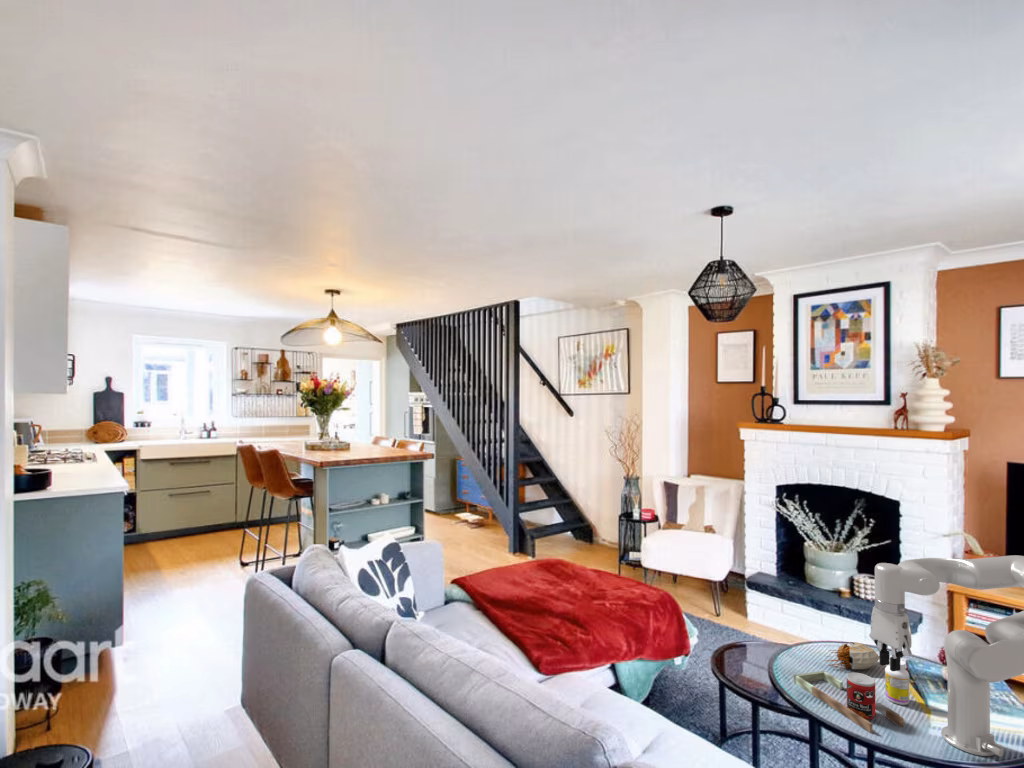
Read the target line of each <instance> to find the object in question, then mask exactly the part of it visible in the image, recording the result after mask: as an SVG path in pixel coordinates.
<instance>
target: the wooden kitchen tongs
mask: <svg viewBox="0 0 1024 768" xmlns="http://www.w3.org/2000/svg"><path fill="white" fill-rule="evenodd" d="M816 681H817V682H818V681H825V682H827V683H828V684H830V685H832V686H834V688H836V689H839V690H840V691H841V690H843V691H844V692H846V693H847V687H846V688H843V687H844V685H843V681H842V680H840V679H839V678H837V677H836V676H834V675H831V674H830V673H828V672H826V670H820V671H813V672H806V673H799V674H794V675H793V683H794V684H795V685H797V686H799V687H800V688H802V689H803V690H805V691H806V692H808V693H809V694H810V695H812V696H813V697H814V698H815V697H816V698H817V699H818V700H819V701H821V702H822V703H824V704H826V705H827V706H829V707H830V708H831V709H833V710H835V711H837V712H838V713H839V714H840V715H843V716H844V717H845V718H847V719H848V720H849V721H851V722H853V723H854V724H856V725H857V726H859V727H861V728H862V729H863V730H865V731H866V732H868V733H869V734H871V733H873V727H874V726H873V723H872V722H870V721H869V720H866V719H864V718H863V717H861V716H859V715H858V714H856V713H855V712H853V711H852V710H850V709H849V708H847V706H846V705H844V704H843V703H840V701H837V700H836V699H835V698H833V697H832V696H830V695H828V694H827V693H825V692H824V691H822V690H821V689H819V688H818V687H816V686H814V685H813V684H811V683H810V682H816ZM875 711H878V712H879V713H880V714H882V715H884V716H885V718H886V719H887V720H889V721H891V722H892V723H894V724H895V725H896V726H898V727H900V728H903V727H904V725H905V723H904V717H902V716H900V714H899V713H897V712H896V711H895V710H892V709H891V708H889V707H888V706H886V705H884V704H882V703H881V702H875Z"/></svg>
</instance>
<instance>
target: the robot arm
mask: <svg viewBox="0 0 1024 768" xmlns="http://www.w3.org/2000/svg"><path fill="white" fill-rule="evenodd" d="M940 583H946V584H951V585H952V584H953V585H955V586H960V587H963V588H966V589H973V590H979V591H981V590H995V589H1004V588H1009V589H1010V588H1022V589H1024V555H1016V554H1015V555H1003V556H991V557H990V556H989V557H979V558H970V559H967V558H966V559H965V558H946V557H923V558H914V559H907V560H903V561H900V562H899V563H898V564H894V563H887V562H879V563H877V564H876V565H875V566H874V606H873V607H872V612H871V617H870V633H869V635H868V636H869V638H870V639H871V640H872V641H873V643H874V644H875V646H876V649H877V651H878V652H879V653H878V656H879V660H878V662H879V665H880V666H882V667H883V666H889V664H890V670H891V671H899V670H900V660H901V659H902V658H903V657H905V656H911V655H912V654H913V653H912V651H911V648H912V643H913V641H912V630H911V625H910V624H911V623H910V619H909V615H908V614H907V613H908V611H909V610H908V609H907V608H906V607H905V606H906V603H905V601H906V598H905V597H906V593H910V594H915V595H918V596H924V597H925V596H927V597H928V596H933V595H935V594H936V593H937V592H938V591H939V589H940V588H941V587H940V585H941V584H940ZM905 592H906V593H905ZM984 636H985V638H986V640H987V641H988V642H989V643H987V642H986V641H985V640H984V639H982V638H981V637H979V636H978V635H976V634H975V633H973V632H971V631H968V630H964V629H963V630H962V629H956V630H952V631H950V632H949V633H948V634H947V635H946V637H945V639H944V644H943V647H944V648H943V649H944V656H945V660H946V668H947V726H944V727H942V728H941V730H940V731H941V732H940V733H941V738H943V739H944V740H945V742H947V743H948V744H949V745H951V746H953V747H954V748H957V749H959V750H960V751H963V752H966V753H969V754H972V755H976V756H983V757H992V756H998V757H1000V758H1002V757H1003V756H1004V752H1005V747H1004V746H1002V745H1001V744H999V743H997V742H996V741H995V735H994V734H992V733H991V686H990V685H991V684H990V683H998V682H1002V681H1006V680H1009V679H1012V678H1015V677H1018V676H1021V675H1024V610H1022V611H1020V612H1017V613H1014V614H1011V615H1009V616H1005V617H1002V618H999V619H996V620H995V621H992V622H990V623H988V625H986V626H985V629H984ZM889 647H890V648H891V657H890V651H889V650H888V648H889Z"/></svg>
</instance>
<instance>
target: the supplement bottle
mask: <svg viewBox="0 0 1024 768" xmlns="http://www.w3.org/2000/svg"><path fill="white" fill-rule="evenodd" d="M906 667H907V666H906V662H905V661H903V660H902V659H900V670H899V671H891V670H890V664H889V665H886V667H885V668H884V696H885V698H886V699H887V700H888V701H889V702H891V703H893V704H896V705H900V706H905V705H908V704H909V703H910V673H909V672H908V670H906Z"/></svg>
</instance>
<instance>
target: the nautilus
mask: <svg viewBox="0 0 1024 768" xmlns="http://www.w3.org/2000/svg"><path fill="white" fill-rule="evenodd" d="M837 648H838V649H833V650H832V649H830V650H829V652H830V654H836V657H837V659H831V660H829V659H828V660H823V661H824V662H838V663H836V664H835V663H833V664H832V663H831V664H829V666H831V667H832V669H834V668H840V669H839V671H841V670H842V669H844V668H845V669H848V668H851V670H867V669H870V668H871V667H873V666H874V665H876V664H877V663H878V662H879V653H877V652H876V651H875V650H874V649H873V648H871V647H869V646H867V644H864V643H861V642H855V641H853V642H852V641H851V642H847V643H843V644H841V645H839V646H838V647H837ZM833 651H834V652H833ZM825 657H826V658H828V657H830V655H826V656H825ZM836 665H837V666H836Z"/></svg>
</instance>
